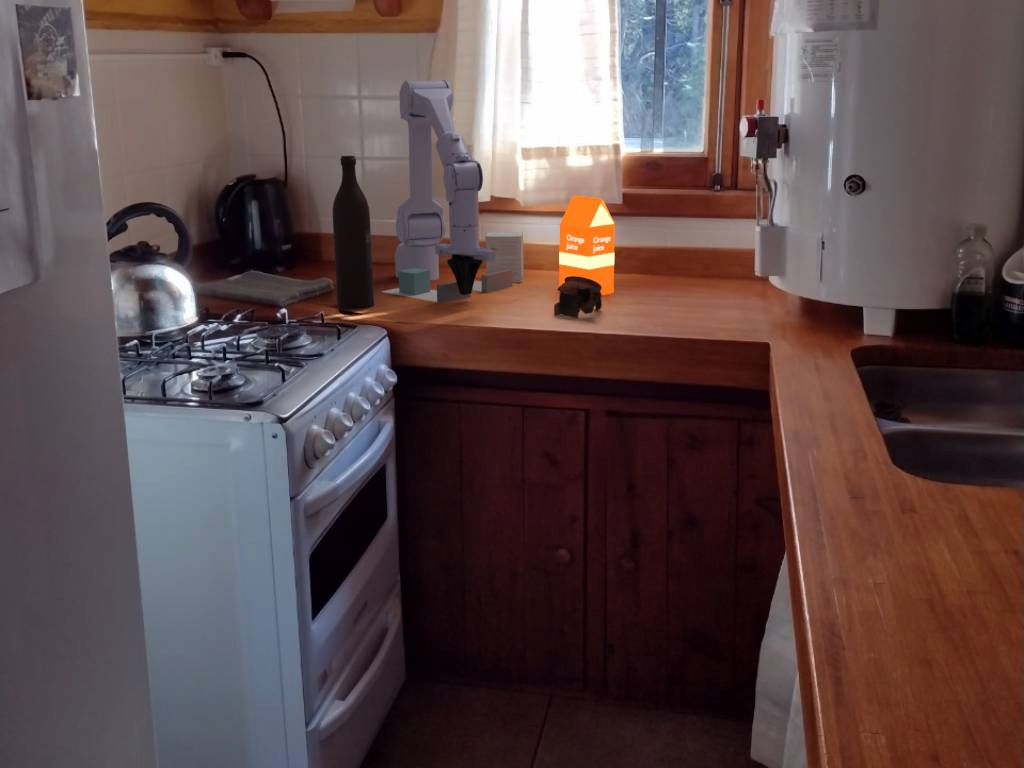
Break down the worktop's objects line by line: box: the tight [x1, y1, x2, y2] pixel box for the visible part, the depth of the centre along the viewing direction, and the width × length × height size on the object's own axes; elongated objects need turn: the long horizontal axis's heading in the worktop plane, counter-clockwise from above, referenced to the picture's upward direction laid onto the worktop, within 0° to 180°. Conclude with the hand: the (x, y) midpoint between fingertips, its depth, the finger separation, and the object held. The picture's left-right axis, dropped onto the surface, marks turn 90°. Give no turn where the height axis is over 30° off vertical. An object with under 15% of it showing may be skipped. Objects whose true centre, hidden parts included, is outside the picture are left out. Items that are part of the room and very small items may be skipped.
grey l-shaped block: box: [472, 269, 514, 294], centre depth 225 cm, size 14×8×4 cm, turn 49°
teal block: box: [398, 268, 431, 295], centre depth 219 cm, size 4×4×4 cm
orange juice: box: [558, 195, 616, 296], centre depth 221 cm, size 8×9×20 cm
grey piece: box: [381, 280, 471, 304], centre depth 217 cm, size 18×8×4 cm, turn 49°
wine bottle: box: [332, 155, 375, 316], centre depth 204 cm, size 7×7×30 cm
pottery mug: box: [553, 276, 603, 319], centre depth 204 cm, size 12×10×8 cm
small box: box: [485, 231, 525, 284], centre depth 236 cm, size 8×6×10 cm
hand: (465, 293), depth 210 cm, fingers closed
